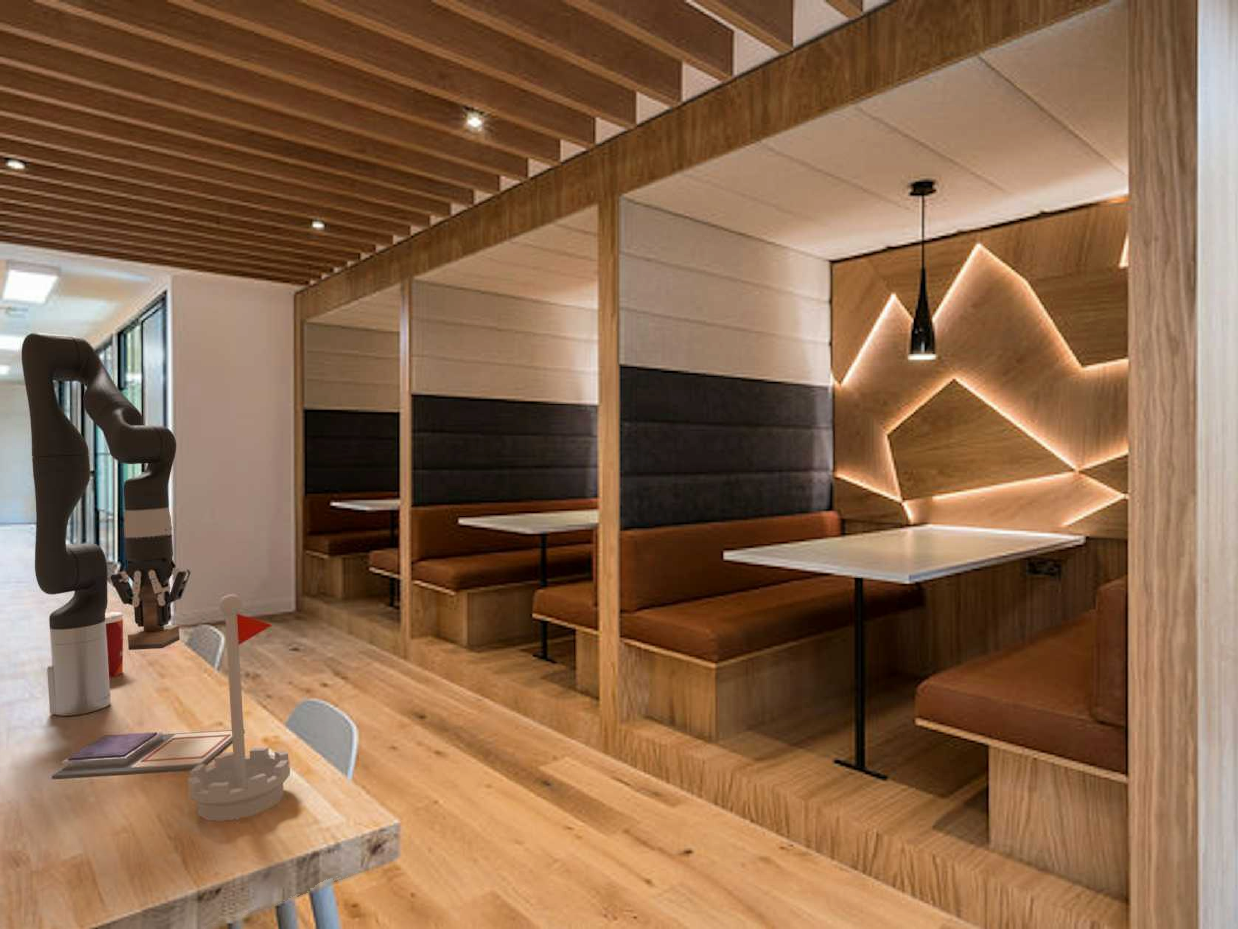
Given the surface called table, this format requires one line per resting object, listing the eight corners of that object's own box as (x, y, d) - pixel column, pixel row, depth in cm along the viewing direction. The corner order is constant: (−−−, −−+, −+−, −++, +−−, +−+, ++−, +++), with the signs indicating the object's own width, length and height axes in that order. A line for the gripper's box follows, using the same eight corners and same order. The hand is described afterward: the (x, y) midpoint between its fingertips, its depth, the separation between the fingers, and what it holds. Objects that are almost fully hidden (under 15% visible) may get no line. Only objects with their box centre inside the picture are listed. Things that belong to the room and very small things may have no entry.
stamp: (128, 650, 140) (124, 584, 140) (147, 641, 146) (143, 578, 146) (162, 648, 140) (158, 583, 140) (179, 639, 146) (176, 577, 146)
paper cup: (135, 670, 182) (132, 612, 182) (104, 680, 175) (100, 619, 175) (111, 668, 185) (107, 611, 185) (80, 678, 178) (76, 618, 177)
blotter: (51, 778, 122) (51, 774, 122) (113, 739, 138) (112, 735, 137) (200, 769, 123) (200, 764, 123) (244, 731, 139) (244, 727, 139)
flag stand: (184, 834, 102) (171, 608, 101) (195, 794, 114) (182, 592, 113) (291, 811, 107) (279, 596, 106) (290, 775, 119) (280, 582, 118)
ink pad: (62, 769, 124) (61, 760, 124) (104, 742, 135) (103, 734, 135) (125, 765, 125) (125, 756, 124) (162, 739, 135) (162, 730, 135)
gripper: (96, 537, 139) (102, 632, 139) (176, 533, 139) (182, 628, 140) (121, 532, 146) (126, 622, 147) (197, 529, 147) (202, 619, 147)
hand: (153, 625), depth 143 cm, fingers closed on stamp, 3 cm apart
